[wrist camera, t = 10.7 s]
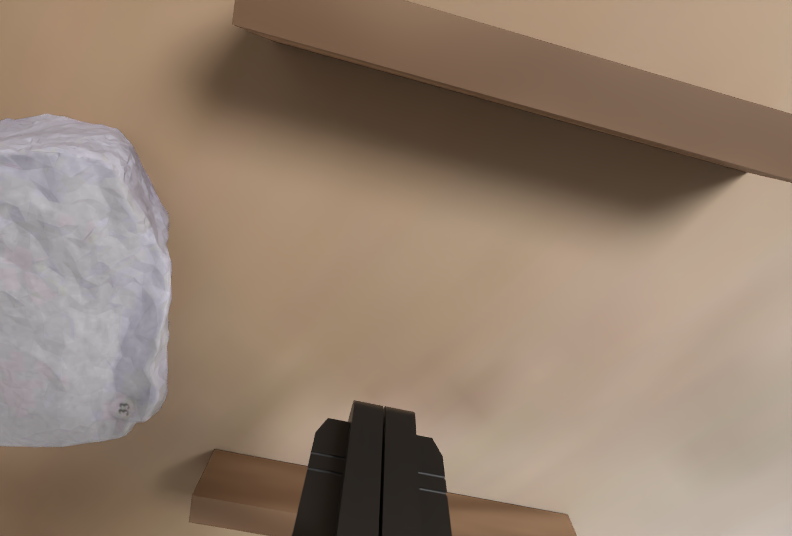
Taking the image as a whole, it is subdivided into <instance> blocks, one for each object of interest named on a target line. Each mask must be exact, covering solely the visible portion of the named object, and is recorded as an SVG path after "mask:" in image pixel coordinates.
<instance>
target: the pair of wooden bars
mask: <svg viewBox="0 0 792 536" xmlns="http://www.w3.org/2000/svg"><path fill="white" fill-rule="evenodd" d="M232 24H233V25H235V26H238V27H240V28H243V29H245V30H247V31H250V32H252V33H255V34H257V35H260V36H262V37H264V38H267V39H269V40H272V41H275V42H279V43H282V44H286V45H289V46H293V47H297V48H300V49H304V50H307V51H311V52H315V53H318V54H322V55H326V56H329V57H333V58H336V59H340V60H344V61H347V62H351V63H354V64H358V65H362V66H365V67H369V68H372V69H376V70H380V71H383V72H387V73H391V74H394V75H398V76H401V77H405V78H409V79H412V80H416V81H419V82H423V83H427V84H430V85H434V86H438V87H441V88H445V89H448V90H452V91H456V92H459V93H463V94H466V95H470V96H474V97H477V98H481V99H484V100H488V101H492V102H495V103H499V104H503V105H506V106H510V107H513V108H517V109H521V110H524V111H528V112H531V113H535V114H539V115H542V116H546V117H550V118H553V119H557V120H560V121H564V122H568V123H571V124H575V125H578V126H582V127H586V128H589V129H593V130H596V131H600V132H604V133H607V134H611V135H615V136H618V137H622V138H625V139H629V140H633V141H636V142H640V143H643V144H647V145H651V146H654V147H658V148H662V149H665V150H669V151H672V152H676V153H680V154H683V155H687V156H690V157H694V158H698V159H701V160H705V161H708V162H712V163H716V164H719V165H723V166H727V167H730V168H734V169H737V170H741V171H745V172H748V173H752V174H757V175H761V176H765V177H770V178H774V179H778V180H782V181H787V182H791V183H792V114H790V113H786V112H783V111H779V110H776V109H773V108H769V107H766V106H762V105H759V104H756V103H752V102H749V101H745V100H742V99H739V98H735V97H732V96H728V95H725V94H722V93H718V92H715V91H711V90H708V89H705V88H701V87H698V86H694V85H691V84H688V83H684V82H681V81H677V80H674V79H671V78H667V77H664V76H660V75H657V74H654V73H650V72H647V71H643V70H640V69H637V68H633V67H630V66H626V65H623V64H620V63H616V62H613V61H609V60H606V59H603V58H599V57H596V56H592V55H589V54H586V53H582V52H579V51H575V50H572V49H569V48H565V47H562V46H558V45H555V44H552V43H548V42H545V41H541V40H538V39H535V38H531V37H528V36H524V35H521V34H518V33H514V32H511V31H507V30H504V29H501V28H497V27H494V26H490V25H487V24H484V23H480V22H477V21H473V20H470V19H467V18H463V17H460V16H456V15H453V14H450V13H446V12H443V11H439V10H436V9H433V8H429V7H426V6H422V5H419V4H416V3H412V2H409V1H405V0H235V4H234V13H233V22H232ZM307 468H308V466H302V465H297V464H291V463H286V462H281V461H275V460H270V459H264V458H259V457H254V456H248V455H243V454H237V453H232V452H227V451H221V450H216V449H215V450H214V452H213V454H212V456H211V458H210V460H209V462H208V464H207V466H206V468H205V470H204V472H203V474H202V476H201V478H200V480H199V482H198V484H197V486H196V489H195V491H194V493H193V495H192V501H191V509H190V517H189V522H191V523H197V524H203V525H209V526H215V527H221V528H227V529H233V530H239V531H244V532H250V533H256V534H262V535H268V536H292V533H293V529H294V525H295V520H296V516H297V512H298V507H299V503H300V499H301V494H302V490H303V486H304V481H305V477H306V472H307ZM446 496H447V498H448V506H449V514H450V522H451V531H452V536H577V535H576V533H575V530H574V528H573V526H572V523H571V521H570V518H569V516H568V515H566V514H561V513H556V512H550V511H545V510H539V509H534V508H529V507H523V506H518V505H512V504H507V503H502V502H496V501H491V500H485V499H480V498H475V497H469V496H464V495H459V494H453V493H448V492H447V493H446Z"/></svg>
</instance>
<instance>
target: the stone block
mask: <svg viewBox="0 0 792 536" xmlns="http://www.w3.org/2000/svg"><path fill="white" fill-rule="evenodd" d="M168 229H169V216H168V213H167V211H166V210H165V208H164V207H163V205H162V204H161V202H160V200H159V198H158V196H157V194H156V192H155V189H154V187H153V185H152V183H151V180H150V178H149V177H148V175H147V173H146V171H145V170H144V168H143V166H142V164H141V162H140V160H139V157H138V155H137V153H136V151H135V149H134V147H133V145H132V144H131V143H130V142H129V141H128V140H127V139H126V137H125V136H124V135H123V134H122V133H121V132H120V131H119V130H118V129H116V128H111V127H108V126H105V125H101V124H90V123H86V122H81V121H78V120H74V119H70V118H67V117H64V116H55V115H50V114H42V115H40V116H33V117H28V118H23V119H16V120H12V119H9V118H6V119H4V120H1V121H0V446H26V447H65V446H72V445H78V444H84V443H91V442H102V441H106V440H111V439H117V438H120V437H123V436H126V435H127V434H128V433H129V432H130V431H131V430H132V428H133V427H134V425H135V424H136V423H139V422H146V421H147V420H148V419H149V418H151V417H152V416H153V415H154V414H155V413H157V412H158V411H159V410H160V409H161V408H162V404H163V403H164V401H165V399H166V396H167V393H168V388H167V373H168V366H167V343H168V340H169V330H168V327H169V321H168V314H169V308H170V303H171V300H172V299H171V274H172V271H171V266H172V262H171V260H170V257H169V253H168V248H167V240H168Z"/></svg>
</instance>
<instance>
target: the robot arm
mask: <svg viewBox="0 0 792 536" xmlns="http://www.w3.org/2000/svg"><path fill="white" fill-rule="evenodd" d="M444 477H445V473H444V465H443V456H442V455H441V453H440V451H439V449H438V448H437V446H436V444H435V442H434V441H433V439H432V438H429V437H424V436H418V435H416V422H415V413H414V412H411V411H406V410H401V409H396V408H391V407H386V406H385V407H384V409H383V406H380V405H375V404H370V403H365V402H360V401H355V400H354V401H353V405H352V408H351V412H350V416H349V420H348V422H345V421H340V420H335V419H330V418H328V419H327V420H326V421H325V422H324V423H323V425H322V426H321V427H320V428H319V429H318V430H317V431H316V433H315V438H314V442H313V446H312V451H311V455H310V459H309V464H308V468H307V472H306V477H305V481H304V486H303V490H302V494H301V499H300V503H299V507H298V512H297V516H296V520H295V525H294V529H293V533H292V536H452V531H451V522H450V514H449V506H448V498H447V496H446V493H447V489H446V481H445V479H444Z"/></svg>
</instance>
